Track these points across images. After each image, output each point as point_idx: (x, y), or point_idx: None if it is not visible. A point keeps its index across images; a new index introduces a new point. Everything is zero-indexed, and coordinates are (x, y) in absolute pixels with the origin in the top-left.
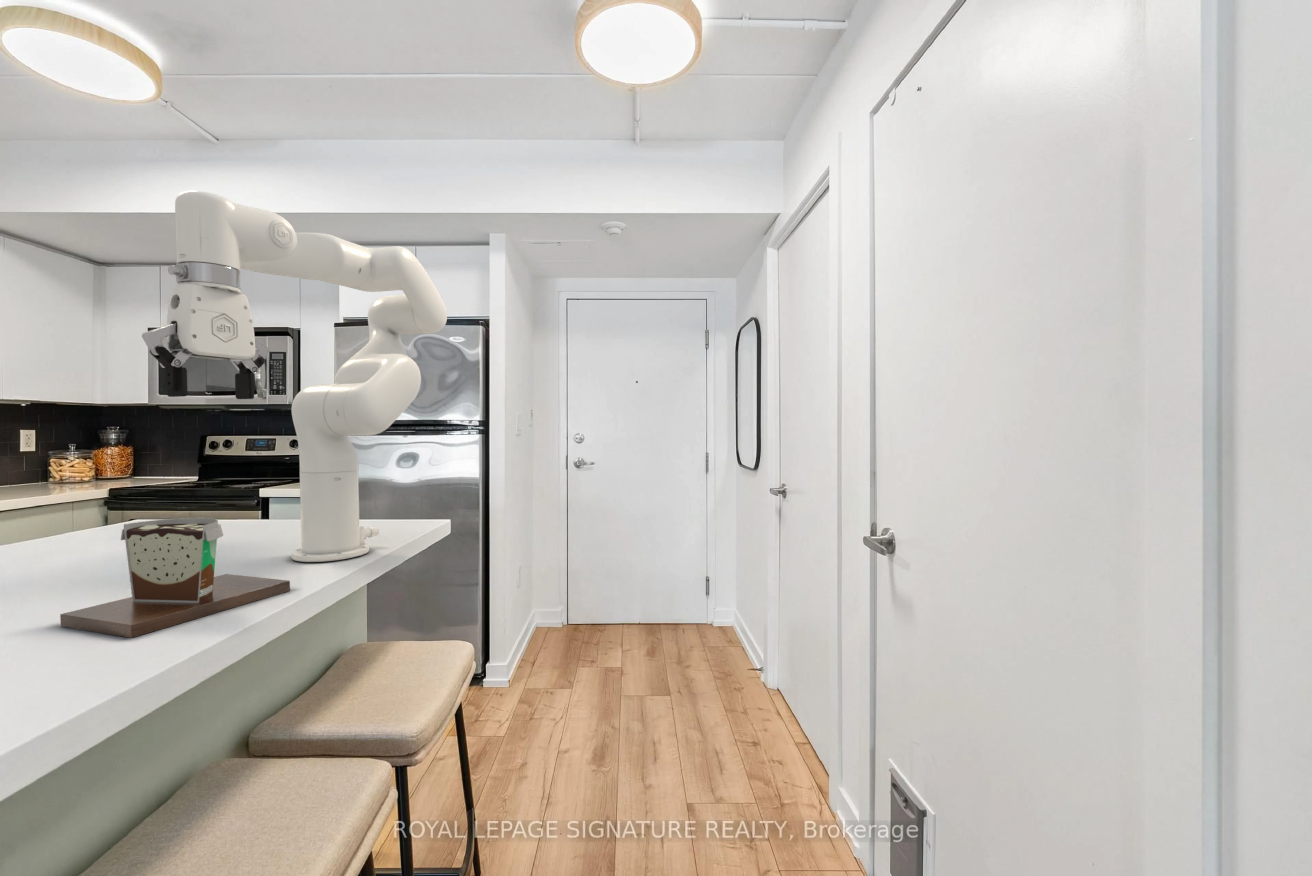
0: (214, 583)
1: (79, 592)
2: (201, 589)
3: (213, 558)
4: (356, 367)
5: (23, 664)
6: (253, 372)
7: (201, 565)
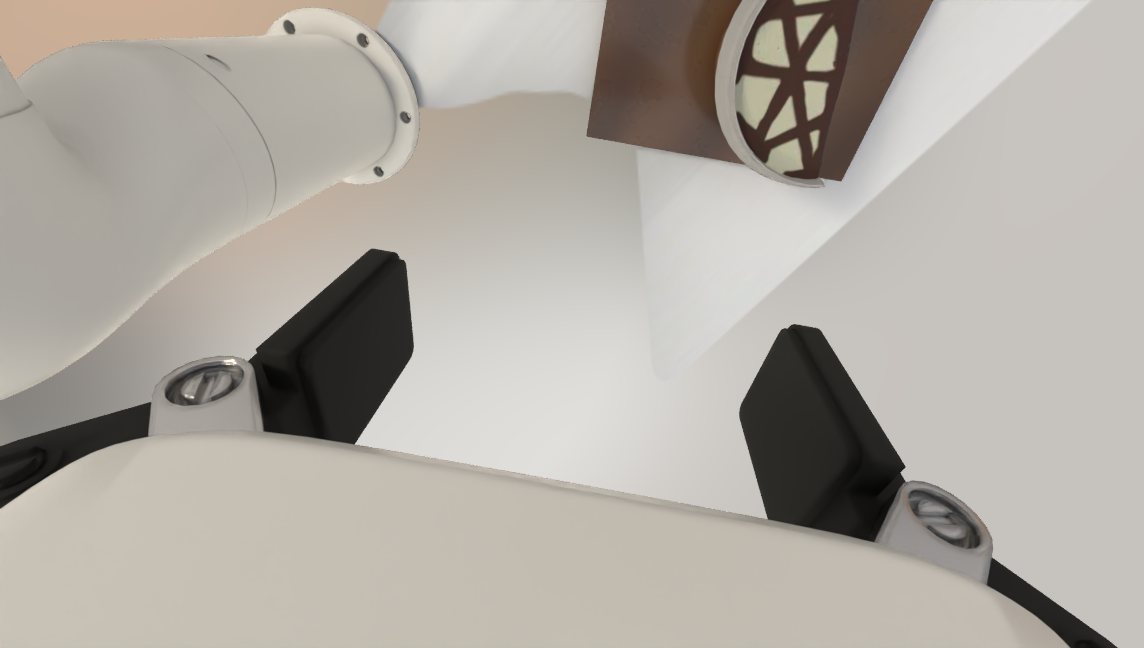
0: (656, 90)
1: (657, 317)
2: None
3: None
4: None
5: (1042, 30)
6: (244, 364)
7: None
